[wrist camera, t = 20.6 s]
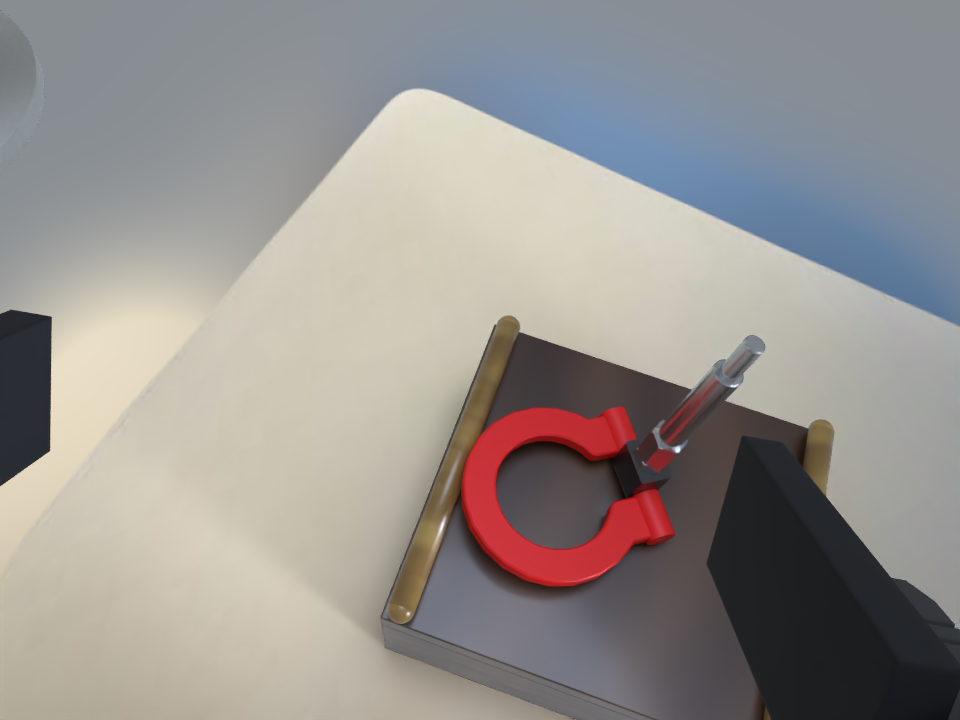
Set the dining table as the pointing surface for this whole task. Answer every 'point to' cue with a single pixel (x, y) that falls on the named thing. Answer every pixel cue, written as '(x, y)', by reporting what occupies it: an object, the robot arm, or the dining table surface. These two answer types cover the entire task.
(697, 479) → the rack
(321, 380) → the dining table surface
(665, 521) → the tow hook
